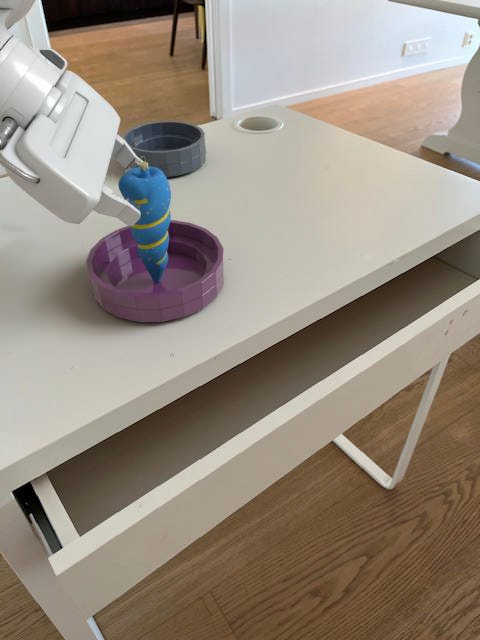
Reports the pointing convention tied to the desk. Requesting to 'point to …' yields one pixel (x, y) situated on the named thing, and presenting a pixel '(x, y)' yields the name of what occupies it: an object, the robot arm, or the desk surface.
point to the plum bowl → (176, 282)
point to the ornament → (149, 215)
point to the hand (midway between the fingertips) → (140, 194)
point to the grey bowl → (169, 146)
